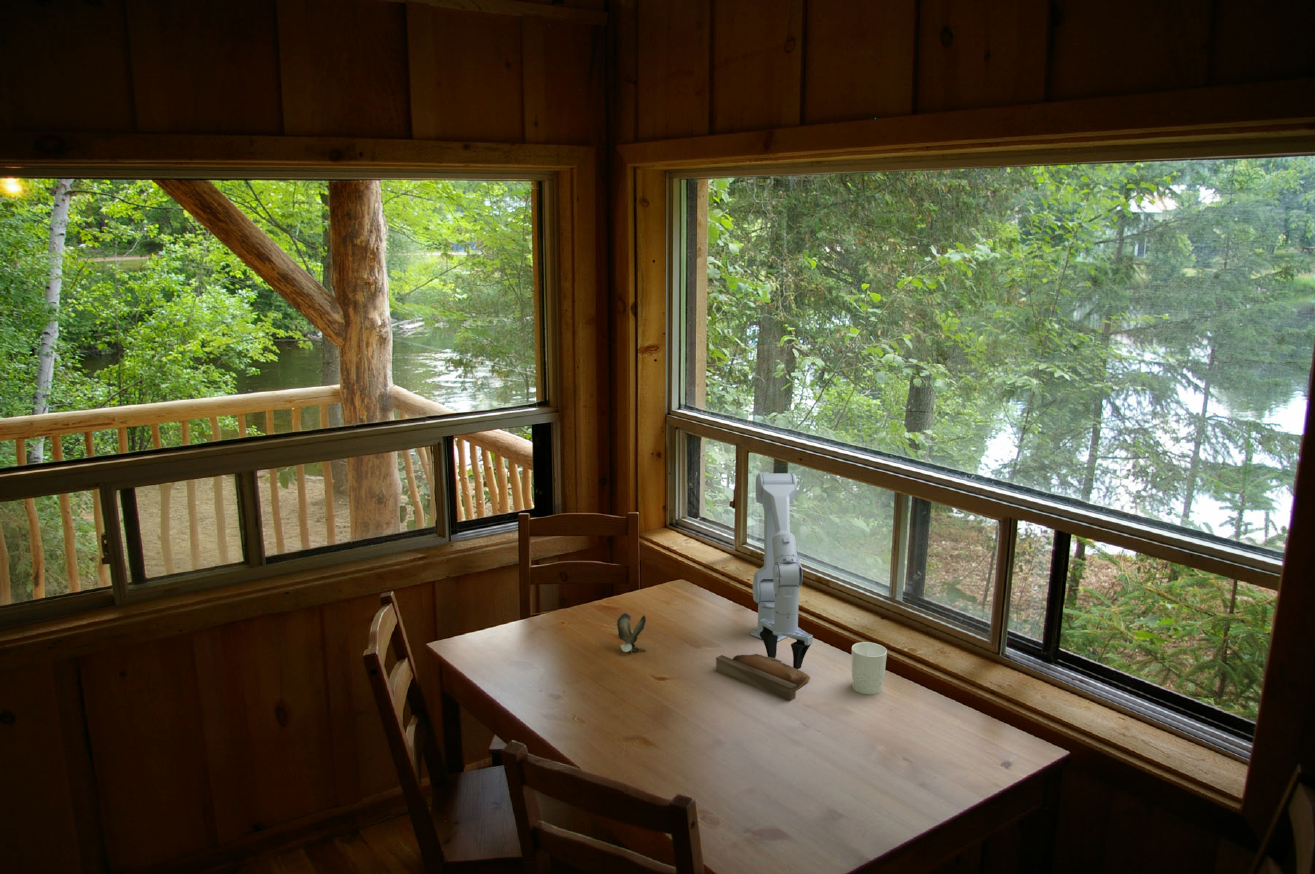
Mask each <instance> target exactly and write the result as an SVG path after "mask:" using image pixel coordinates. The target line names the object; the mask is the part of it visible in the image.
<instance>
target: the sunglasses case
mask: <svg viewBox="0 0 1315 874" xmlns="http://www.w3.org/2000/svg"><path fill="white" fill-rule="evenodd" d="M732 659H733V660H736V661H738V662H741V663H743V664H746V665H748V666H750V667H753V668H755V669H758V670H760V671H763V672H765V673H768V674H770V675H773V676H775V677H778V678H780V679H783V680H785V681H788V682H790V683H793V684H795V685H797V687H796V692H797V691H798V690H800V689H801V688H802V687H803V686H805V684H807V683H808V681H810V679H811V677H810V675H808V674H807V673H805V672H804V671H802V670H800V669H796V668H793V666H791V665H789V664H786V663H784V662H782V660H779V659H777V658H772V657H768V656H766V655H762V654H758V653H755V654H740V655H739V654H737V655H735V656H733V657H732Z"/></svg>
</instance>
